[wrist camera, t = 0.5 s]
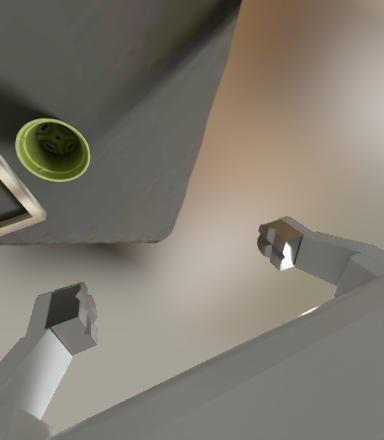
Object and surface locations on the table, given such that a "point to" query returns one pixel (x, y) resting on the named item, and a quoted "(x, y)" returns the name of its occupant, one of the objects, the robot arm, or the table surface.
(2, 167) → the beige u-shaped bracket
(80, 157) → the plant pot
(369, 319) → the robot arm
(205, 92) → the table surface
